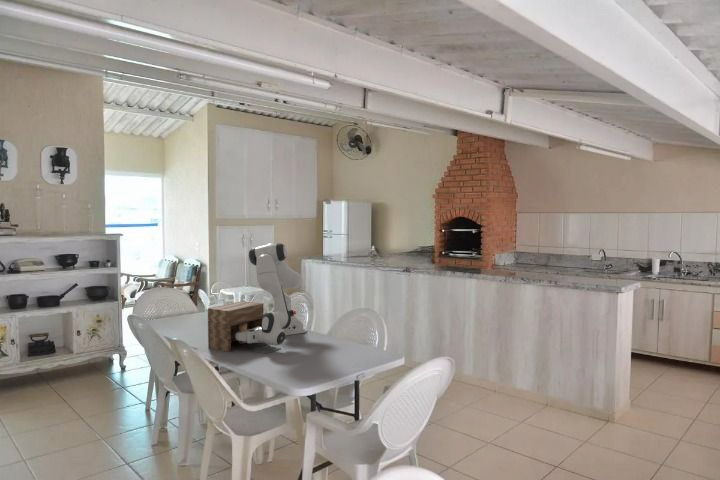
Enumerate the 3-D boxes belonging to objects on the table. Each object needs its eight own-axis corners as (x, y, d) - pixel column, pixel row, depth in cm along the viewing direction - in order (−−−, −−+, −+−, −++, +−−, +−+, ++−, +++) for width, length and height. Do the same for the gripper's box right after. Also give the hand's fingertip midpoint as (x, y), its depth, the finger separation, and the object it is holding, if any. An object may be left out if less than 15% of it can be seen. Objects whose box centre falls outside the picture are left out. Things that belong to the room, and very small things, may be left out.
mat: (281, 348, 288) (281, 348, 288) (266, 354, 277) (266, 353, 277) (264, 345, 294) (264, 345, 294) (250, 350, 284) (250, 350, 284)
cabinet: (263, 341, 305) (263, 303, 303) (228, 352, 281) (228, 311, 280) (243, 337, 313) (243, 300, 312) (208, 348, 289) (207, 308, 288)
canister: (246, 340, 298) (246, 321, 297) (248, 342, 293) (248, 323, 292) (237, 341, 296) (237, 322, 295) (239, 343, 291) (238, 324, 290)
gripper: (272, 325, 296) (254, 322, 303) (246, 332, 278) (228, 329, 286) (272, 336, 296) (254, 333, 303) (247, 344, 279) (228, 340, 286)
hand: (241, 331), depth 294 cm, fingers closed on canister, 5 cm apart
